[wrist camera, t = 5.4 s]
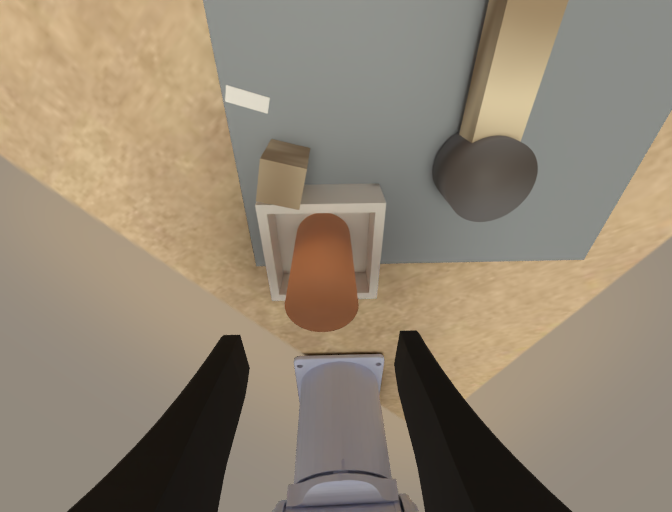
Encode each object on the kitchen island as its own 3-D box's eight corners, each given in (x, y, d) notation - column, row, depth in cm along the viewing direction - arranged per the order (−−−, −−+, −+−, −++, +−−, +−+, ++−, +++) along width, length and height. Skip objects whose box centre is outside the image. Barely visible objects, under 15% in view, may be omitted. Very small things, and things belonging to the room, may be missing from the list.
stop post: (310, 148, 15) (306, 169, 13) (303, 184, 17) (299, 209, 14) (271, 138, 15) (259, 158, 13) (267, 176, 16) (255, 201, 14)
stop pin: (349, 211, 17) (358, 276, 12) (350, 257, 19) (358, 330, 14) (293, 213, 17) (279, 279, 12) (299, 259, 19) (289, 333, 14)
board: (575, 252, 21) (584, 260, 20) (258, 259, 20) (256, 266, 20) (846, -233, 10) (888, -256, 9) (162, -240, 9) (149, -264, 9)
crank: (495, 199, 17) (529, 230, 14) (426, 200, 17) (446, 232, 14) (626, -198, 9) (757, -303, 7) (500, -199, 9) (577, -307, 6)
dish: (371, 273, 20) (376, 298, 18) (277, 275, 20) (272, 301, 18) (379, 183, 17) (386, 202, 15) (263, 185, 17) (254, 205, 14)
